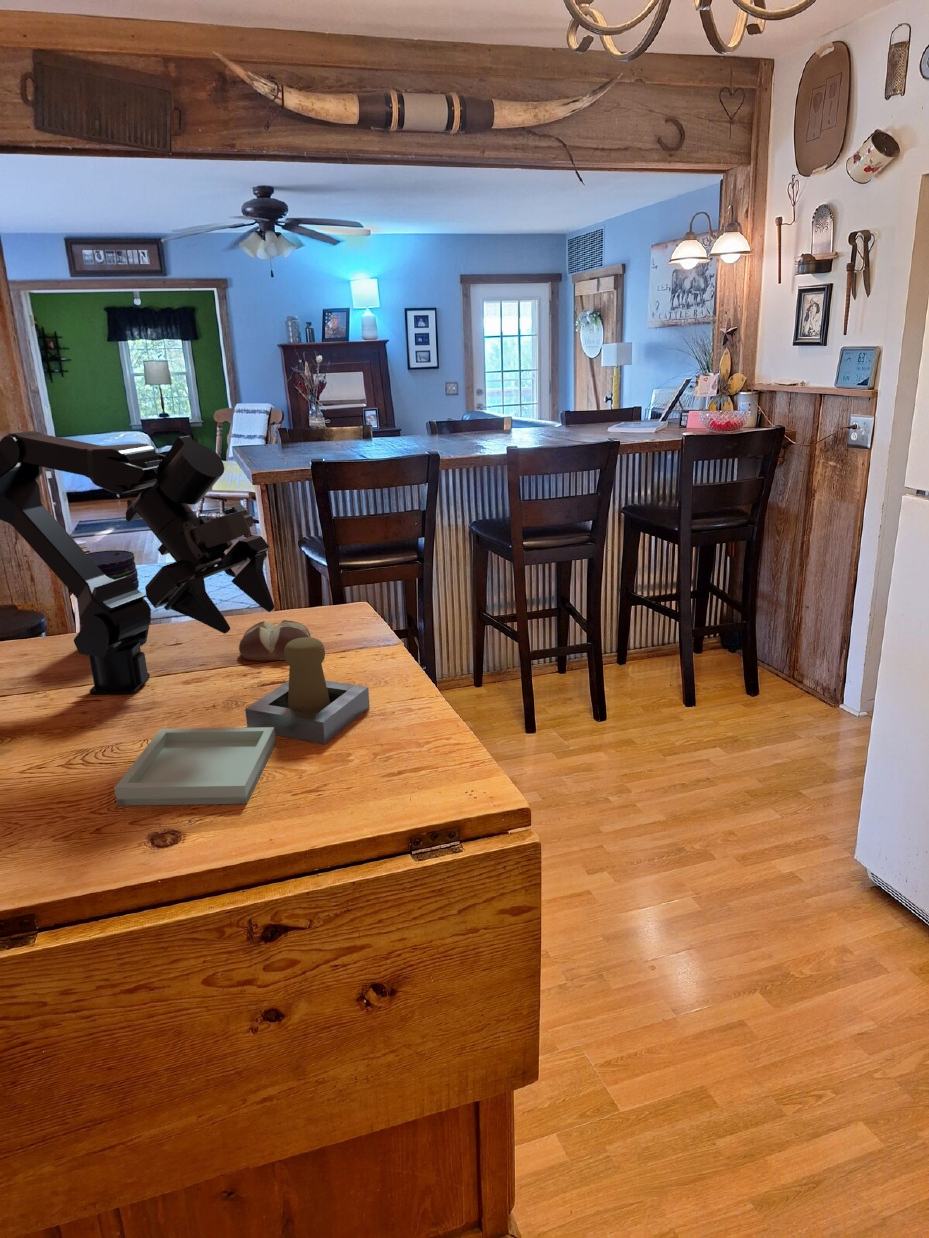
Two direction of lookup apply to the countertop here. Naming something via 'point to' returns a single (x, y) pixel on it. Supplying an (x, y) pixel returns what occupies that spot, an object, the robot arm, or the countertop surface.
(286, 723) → the metal collar
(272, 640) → the bread
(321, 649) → the olive pepper mill
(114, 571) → the black cylinder
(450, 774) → the countertop surface
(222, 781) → the green tray
